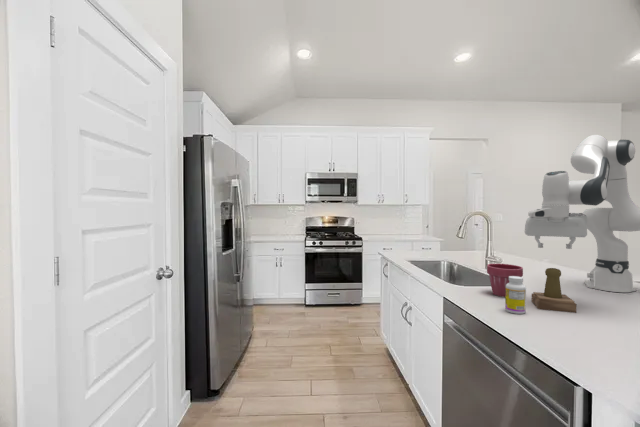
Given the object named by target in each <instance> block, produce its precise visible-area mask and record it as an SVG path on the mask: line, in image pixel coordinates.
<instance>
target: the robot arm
mask: <svg viewBox="0 0 640 427" xmlns="http://www.w3.org/2000/svg"><path fill="white" fill-rule="evenodd" d="M635 146H636V145H635V143H634V142H633V141H631V140H630V139H619V140H617V139H615V140H608V139H607V138H606V137H604V136H602V135H600V134H591V135H589V136H587V137H585V138H584V139H583V140H582V141H581V142H580V143H579V144H577V146H576V148H575V149H574V150H573V153H572V154H571V157H570V164H571V166H572V167H573V169H575V171H578V172H579V173H582V174H590V175H593V176H592V177H591V178H587V179H573V180H570V177H569V173H568V171H566V170H557V171H549V172H546V173H545V174H544V177H543V180H542V186H541V187H542V189H541V190H542V191H541V194H542V203H541V208H537V209H534V210H531V211H529V212H528V218H527V219H526V220H525V224H524V234H525V235H526V236H529V237H530V236H531V237H534V240H535V241H536V243H537V248H540V249H541V248H542V249H543V248H544V243H543V242H541V241H540V239H541V237H556V238H557V237H561V238H569V240H570V241H569V242H568V243H565V248H566V249H567V250H572V248H573V244H574V243H575V241H576V238H586V237H587V236H588V231H589V232H590V233H591V234H592V236H593V237H594V239H595V241H596V246H597V247H596V248H597V258H596V260H595V264H594V265H595V267H594V268H593V269H592V270H591V271H590V272H587V273H586V277H587V278H589V280H584V281H583V283H584V285H585V286H586V287H587V288H590V289H595V290H601V291H604V292H605V291H606V292H614V293H633V292H637V288H635V287H634V280H633V274H632V272H631V271H630V270H629V269H630V268H629V267H630V262H629V245H628V244H627V243H626V242H625V241H624V240H622V239H620V238H618V237H616V236H615V235H614V232H640V206H638V205H637V204H636V203H635V202H634V201H633V199H632V198H631V197H630V193H629V187H628V173H627V168H626V165H627V164H629V163H630V162H632V160H634V158H635V154H636V147H635ZM605 201H606V202H608V203H609V204H610V205H611V207H595V206H598V205H600V204H602V203H603V202H605ZM570 205H578V206H580V205H581V206H582V205H584V206H585V205H586V206H594V207H592V208H588V209H585V210H583V212H570Z"/></svg>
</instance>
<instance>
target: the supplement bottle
mask: <svg viewBox="0 0 640 427" xmlns="http://www.w3.org/2000/svg"><path fill="white" fill-rule="evenodd" d="M523 283H524V277H523V276H522V277H518V276H509V283H507V284H506V296H505V297H504V298H505V299H504V300H505V302H504V306H505V311H506V312H508V313H510V314H515V315H516V314H517V315H523V314H525V313H526V312H527V311H526V310H527V308H526V307H527V286H526V285H525V284H523Z"/></svg>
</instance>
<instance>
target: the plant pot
mask: <svg viewBox="0 0 640 427" xmlns="http://www.w3.org/2000/svg"><path fill="white" fill-rule="evenodd" d="M486 273H487V274H488V276H489V281H490V286H491V292H492V294H493V295H495V296H498V297H503V298H505V296H506V284H507V283H509V276H518V277H522V278H523V276H524V268H523V266H519V265H514V264H508V263H488V264H487V265H486Z"/></svg>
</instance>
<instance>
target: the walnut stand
mask: <svg viewBox="0 0 640 427" xmlns="http://www.w3.org/2000/svg"><path fill="white" fill-rule="evenodd" d="M531 302H532V304H533V305H534V306H535V307H536V308H537V309H538V310H544V311H553V312H564V313H575V314H576V313H577V303H576V302H575V301H574V299H572V298H570V297H569V296H567V295H566V294H564V293H563V294H562V298H550V297H546V296H544V292H539V291H537V292H536V291H533V293H531Z"/></svg>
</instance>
